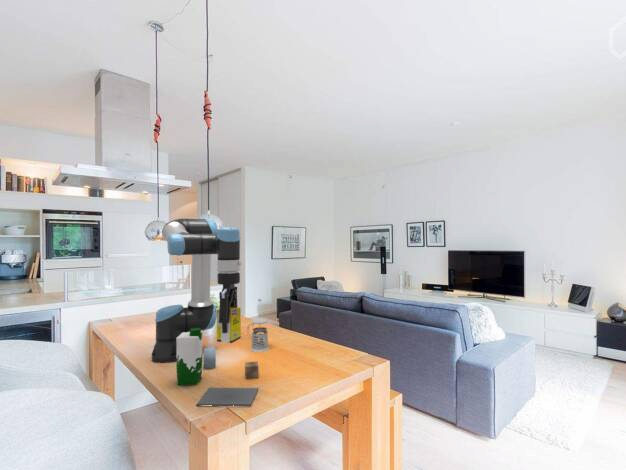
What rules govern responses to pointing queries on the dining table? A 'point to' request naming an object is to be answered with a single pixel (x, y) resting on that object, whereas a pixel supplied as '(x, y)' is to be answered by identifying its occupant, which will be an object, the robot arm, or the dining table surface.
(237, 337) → the supplement box
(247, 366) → the walnut block
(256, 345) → the grey wire-handled lantern
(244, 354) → the dining table surface
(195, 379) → the soya milk
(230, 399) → the charcoal mat
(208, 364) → the slate-blue pebble
